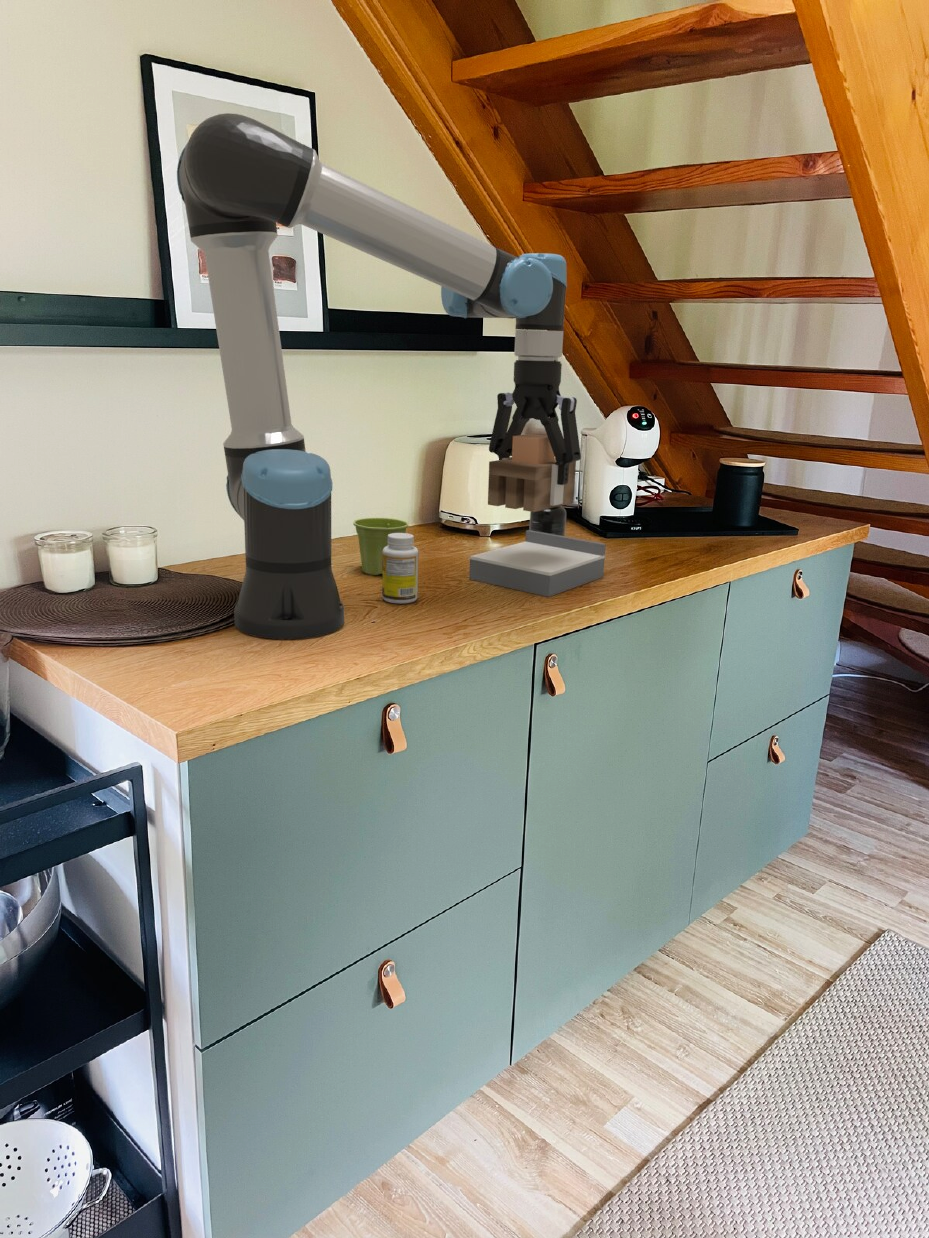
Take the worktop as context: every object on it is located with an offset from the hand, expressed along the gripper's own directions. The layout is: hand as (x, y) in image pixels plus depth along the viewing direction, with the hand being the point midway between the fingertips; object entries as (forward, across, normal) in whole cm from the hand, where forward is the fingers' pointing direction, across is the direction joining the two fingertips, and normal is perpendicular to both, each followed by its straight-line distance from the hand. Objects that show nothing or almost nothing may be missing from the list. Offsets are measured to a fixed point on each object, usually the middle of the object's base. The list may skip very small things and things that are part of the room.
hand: (531, 500), depth 151 cm
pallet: (+1, 0, 0) cm, 1 cm away
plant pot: (+14, +22, +13) cm, 29 cm away
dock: (+14, 0, -4) cm, 15 cm away
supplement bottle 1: (+14, +8, +23) cm, 28 cm away
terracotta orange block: (-6, 0, 0) cm, 6 cm away
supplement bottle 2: (+14, +10, -21) cm, 27 cm away
